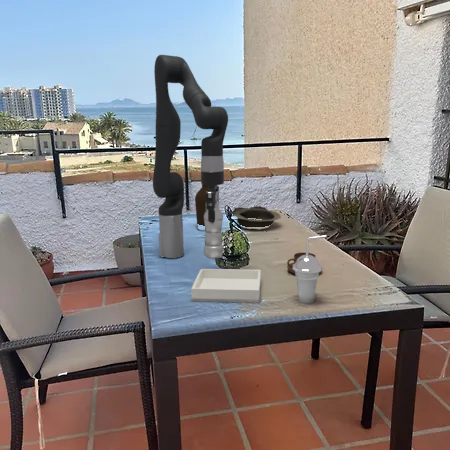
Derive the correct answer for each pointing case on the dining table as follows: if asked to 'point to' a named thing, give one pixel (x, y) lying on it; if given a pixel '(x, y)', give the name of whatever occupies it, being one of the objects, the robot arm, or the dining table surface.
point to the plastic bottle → (213, 234)
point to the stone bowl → (255, 216)
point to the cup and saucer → (295, 261)
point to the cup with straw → (307, 274)
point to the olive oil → (201, 204)
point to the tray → (227, 286)
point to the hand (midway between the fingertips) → (213, 219)
